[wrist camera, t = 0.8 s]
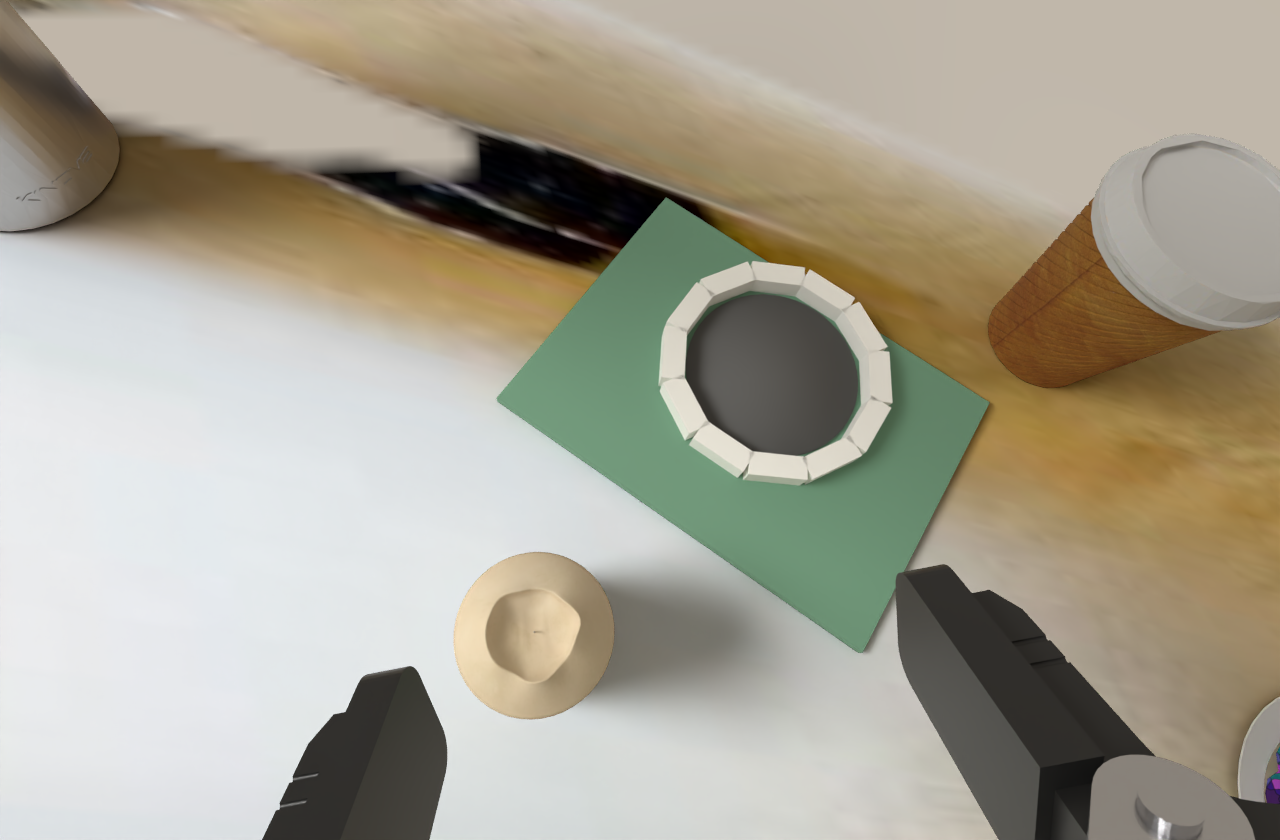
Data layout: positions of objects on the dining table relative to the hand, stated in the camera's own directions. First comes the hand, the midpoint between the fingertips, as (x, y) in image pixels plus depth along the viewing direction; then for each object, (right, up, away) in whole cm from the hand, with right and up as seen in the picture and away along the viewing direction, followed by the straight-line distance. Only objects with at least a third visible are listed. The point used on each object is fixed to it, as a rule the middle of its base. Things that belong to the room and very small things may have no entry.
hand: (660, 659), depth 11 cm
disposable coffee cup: (+23, +9, +28) cm, 38 cm away
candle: (-5, -6, +20) cm, 21 cm away
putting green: (+6, +5, +25) cm, 26 cm away
